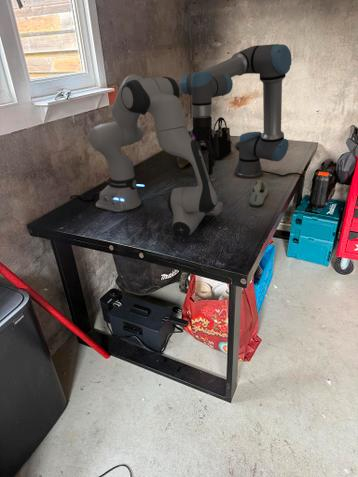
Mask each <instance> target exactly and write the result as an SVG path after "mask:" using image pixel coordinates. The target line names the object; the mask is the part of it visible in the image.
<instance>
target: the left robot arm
mask: <svg viewBox="0 0 358 477" xmlns="http://www.w3.org/2000/svg"><path fill="white" fill-rule="evenodd" d="M179 87H180V86H179V84H178V82H177V81H176V80H175V79H174V78H173V77H169V76H149V77H143V76H140V75H138V74H129V75H128V76H126V77H125V78H124V79H123V81H122V83H121V85H120V87H118V88H119V89H118V91H117V93H116V96H115V99H114V101H113V104H112V107H111V115H112V118H113V120H114V121H111V122H105V123H100V124H98V125H96V126H93V127H92V128H90V129H89V132H88V142H89V144H90V146H91V147H92V149H94V150H95V151H97V152H99V153H100V154H101V155H102V156H103V157H104V159H105V160H106V162H107V166H108V170H109V174H110V177H108V178H107V179H106V183H108V185H106V186H105V187H104V189H101V190H100V191H98V192H96V193H94V194H93V195H92V198H89V199H88V198H84V196H82V195H78V194H73V196H72V195H70V196H69V199H72V198H74V197H77V198H81V200H82V201H84V202H91V201H93V200H94V199H95V197H96V196H97V199H98V200H97V201H96V203H95V208H99V209H103V210H107V211H111V212H115V213H121V212H124V211H129V210H134V209H136V208H138V207H140V206H141V204H142V200H141V198H140V196H139V193H138V187H145V184H139V183H138V184H137V178H136V174H135V168H134V160H133V159H132V158H131V157H130V156H129V155H127V154H125V153H123V152H122V150H121V148H123V147H126V146H130V145H133V144H136V143H138V142H140V141H141V140H142V139H143V136H144V128H143V126H142V123H141V122H140V121H139V118H140V116H141V115H142V116H145V115H146V114H147V113H148V114H150V115H151V116H152V117H153V118H152V119H153V122H154V128H155V134H156V139H157V143H158V145H159V148H161V150H162V151H163V152H165V153H167V154H169V155H171V156H174V157H176V156H178V157H181V158H184V159H186V160H188V161H189V162H190V163H189V164H190V165H191V166H192V169H194V172H195V174H194V175H195V178H196V183H197V182H198V185H199V186H197V185H194V186H179V187H174V188H172V189H171V191H170V192H169V193H168V196H167V201H166V202H167V208H168V210H169V213H170V214H171V216H172V218H173V219H172V224H171V227H172V231H173V232H174V233H175V235H178V236H179V237H188V236H190V235H192V234H193V233H194V232H196V230H197V228H198V227H199V224H200V223H201V222H202V221H203V219H204V217H205V216H212V217H213V216H219V215H220V214H221V213H222V211H223V210H224V203H223V201H219V200H218V195H217V191H216V188H215V187H214V184H213V181H212V179H211V175H209V168H208V167H207V162H206V160H205V157H204V154H203V151H202V148H200V146H199V144H198V142H197V141H194V140H193V139H192V138H191V136H190V135H189V133H188V131H189V129H188V126H187V121H186V116H185V112H184V108H183V106H182V102H181V100H180V88H179ZM207 168H208V169H207Z"/></svg>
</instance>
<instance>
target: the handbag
mask: <svg viewBox="0 0 358 477" xmlns="http://www.w3.org/2000/svg"><path fill="white" fill-rule="evenodd" d="M223 123H224V126H223ZM216 127H218V128H217V129H216ZM230 129H231V128H230V127H228V124H227V122H226V120H225V118H224V117H222V116H219V117H218V118H217V119H216V121H215V123H214V126H213V128H212V130H213V132H216V133H217V132H219V137H218V144H219V157H218V158H215V160H218V161H219V160H222V159H224V158H225V157H226V156H229V154H231V153H232V143H231V141H232V140H231V137H232V136H231V131H230ZM210 139H211V145H212V148H213V151H214V145H213V137H212V135H211V136H210ZM207 158H208V159H210V156H209V153H208V152H207Z"/></svg>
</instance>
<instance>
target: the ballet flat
mask: <svg viewBox="0 0 358 477" xmlns="http://www.w3.org/2000/svg"><path fill="white" fill-rule="evenodd" d="M268 194H269V189H268V186H267V183H266V182H265V181H264V180H262V179H257V180H255V181H254V182H253V184H252V187H251V190H250V196H249V204H250V205H251V206H252V207H260V206H261V205H263V203H264V201H265V198H266V196H267V195H268Z"/></svg>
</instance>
